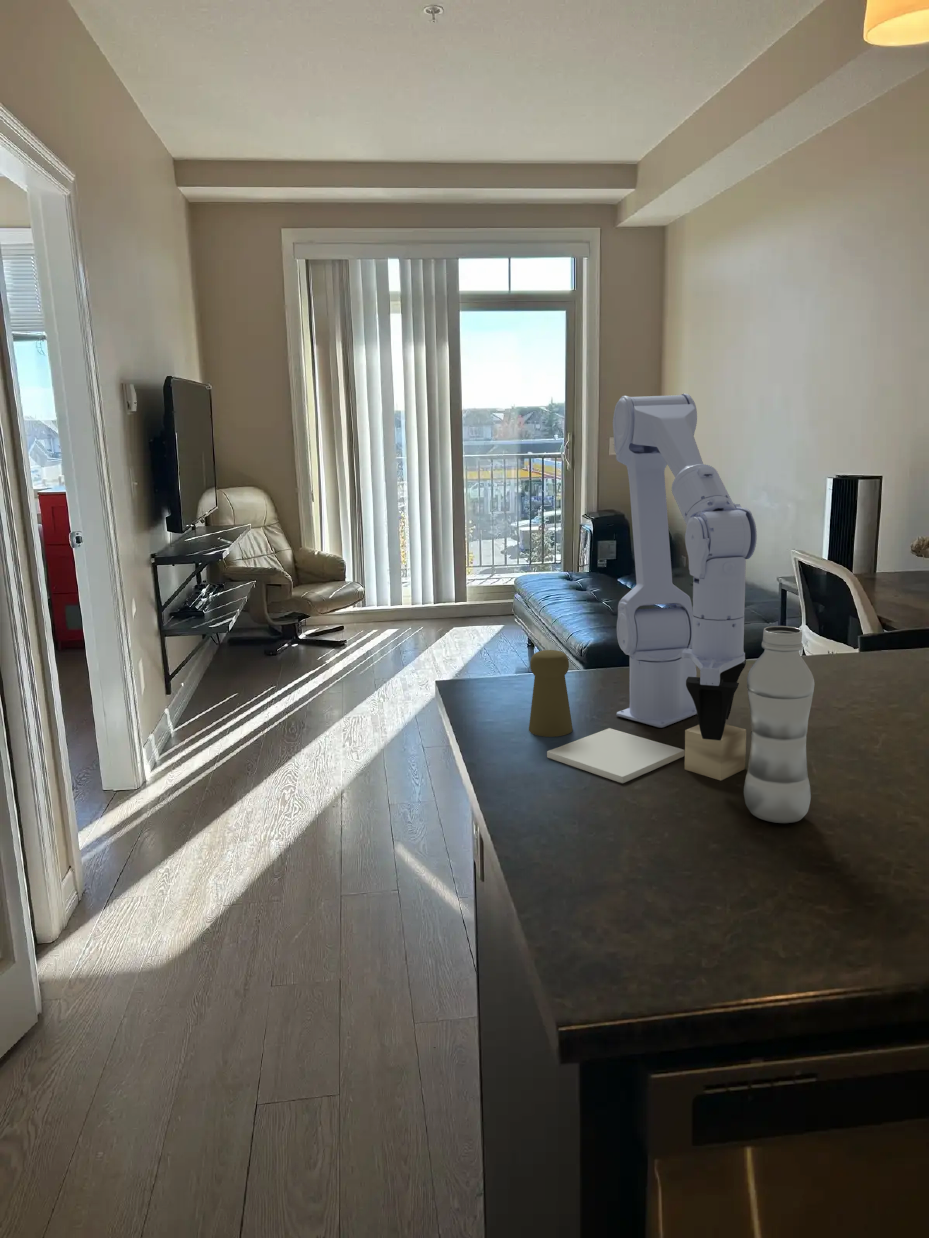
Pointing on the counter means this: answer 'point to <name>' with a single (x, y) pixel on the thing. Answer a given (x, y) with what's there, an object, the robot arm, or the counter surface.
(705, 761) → the cube
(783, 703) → the plastic bottle
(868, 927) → the counter surface
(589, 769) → the plate
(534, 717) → the cork
